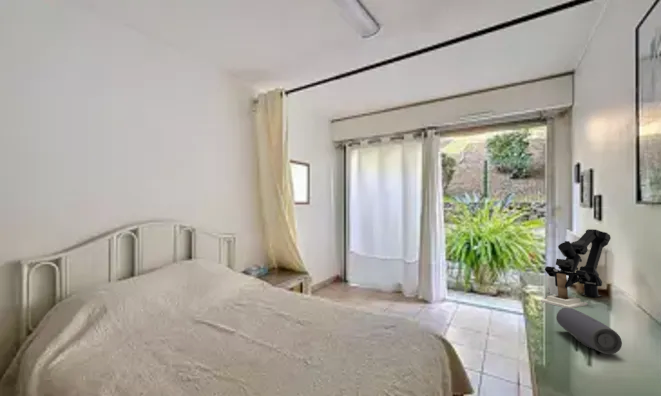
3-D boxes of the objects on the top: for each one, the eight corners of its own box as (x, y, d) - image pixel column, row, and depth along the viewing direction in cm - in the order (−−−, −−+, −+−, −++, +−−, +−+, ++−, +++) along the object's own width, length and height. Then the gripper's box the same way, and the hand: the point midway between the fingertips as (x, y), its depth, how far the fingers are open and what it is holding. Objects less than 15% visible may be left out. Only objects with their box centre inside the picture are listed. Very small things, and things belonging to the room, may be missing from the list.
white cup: (545, 294, 175) (544, 276, 175) (553, 292, 178) (552, 274, 179) (560, 297, 168) (559, 278, 168) (568, 295, 171) (567, 277, 172)
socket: (558, 298, 166) (557, 292, 166) (587, 305, 153) (587, 298, 153) (540, 301, 161) (540, 295, 161) (569, 308, 148) (569, 302, 148)
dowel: (564, 298, 159) (562, 272, 160) (570, 300, 155) (568, 274, 156) (556, 298, 159) (554, 273, 160) (562, 300, 155) (560, 274, 156)
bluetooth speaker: (625, 359, 97) (623, 327, 98) (592, 357, 99) (589, 326, 100) (582, 332, 120) (580, 306, 120) (555, 331, 122) (554, 305, 122)
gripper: (545, 251, 168) (534, 273, 163) (585, 254, 151) (574, 280, 146) (554, 264, 171) (544, 286, 166) (594, 269, 154) (584, 294, 149)
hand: (560, 286), depth 157 cm, fingers closed on dowel, 4 cm apart
